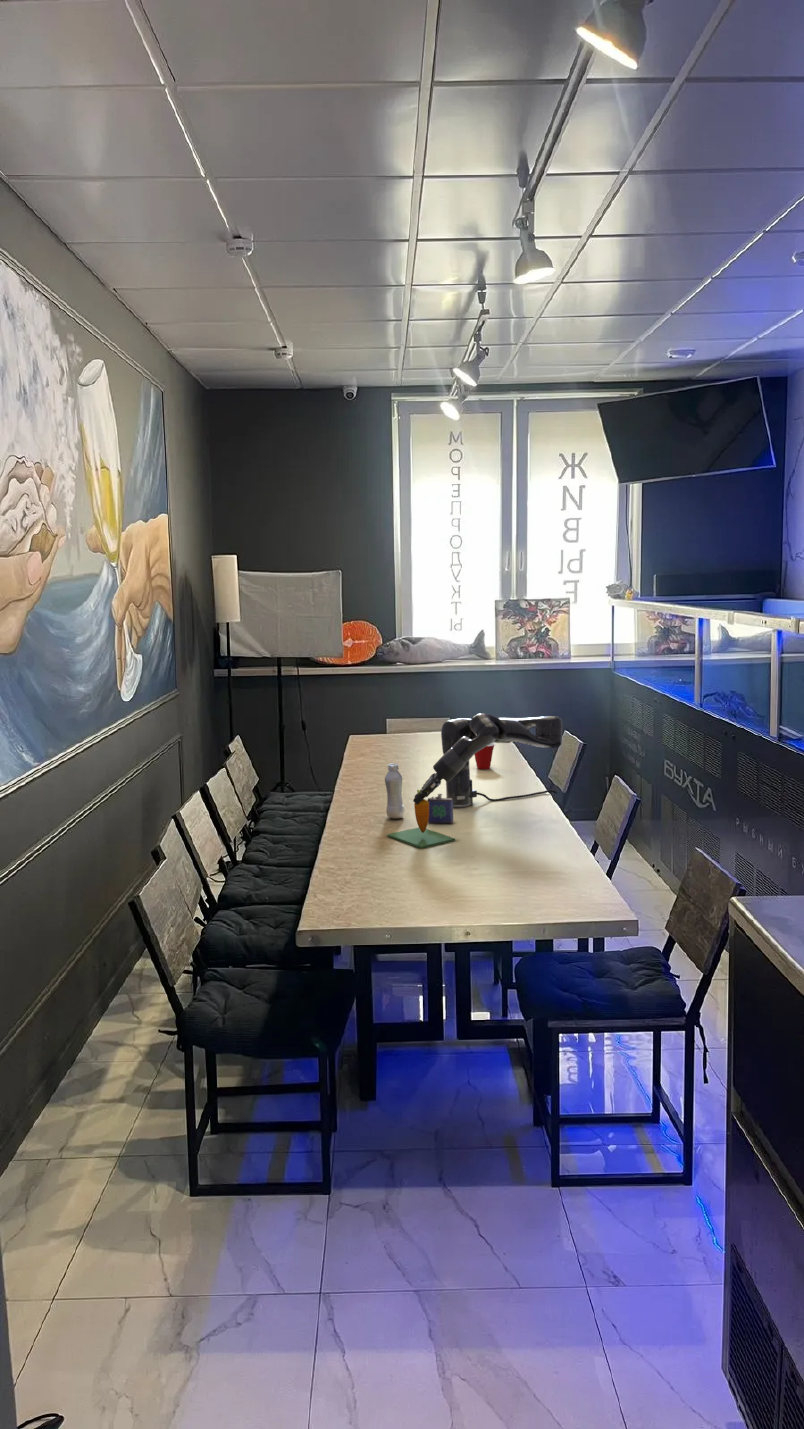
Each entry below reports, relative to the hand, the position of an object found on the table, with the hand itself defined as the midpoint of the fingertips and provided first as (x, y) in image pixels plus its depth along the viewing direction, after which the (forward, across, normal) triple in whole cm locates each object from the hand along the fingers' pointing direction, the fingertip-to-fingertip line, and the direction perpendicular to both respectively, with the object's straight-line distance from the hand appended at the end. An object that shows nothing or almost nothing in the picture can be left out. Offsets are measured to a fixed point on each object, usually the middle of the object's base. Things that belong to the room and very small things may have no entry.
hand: (415, 800), depth 320 cm
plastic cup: (-6, +117, -25) cm, 119 cm away
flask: (+5, +21, -14) cm, 26 cm away
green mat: (+9, +1, -10) cm, 13 cm away
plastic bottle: (+17, +29, -2) cm, 33 cm away
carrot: (+7, 0, -9) cm, 11 cm away
